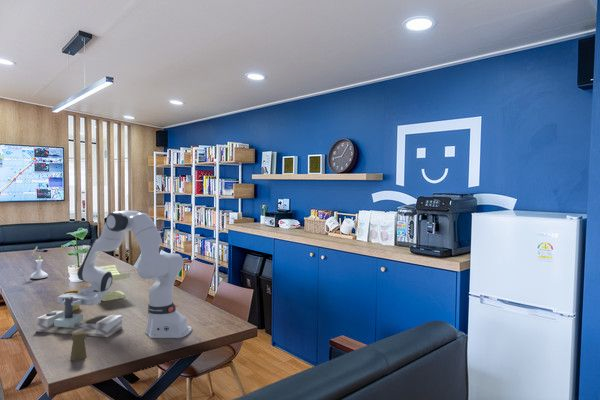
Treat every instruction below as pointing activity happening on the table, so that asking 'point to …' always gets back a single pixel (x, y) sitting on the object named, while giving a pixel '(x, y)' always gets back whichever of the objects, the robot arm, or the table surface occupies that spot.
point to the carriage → (68, 316)
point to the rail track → (80, 325)
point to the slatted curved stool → (115, 277)
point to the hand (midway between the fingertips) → (67, 303)
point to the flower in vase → (38, 268)
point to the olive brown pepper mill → (78, 346)
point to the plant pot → (75, 293)
